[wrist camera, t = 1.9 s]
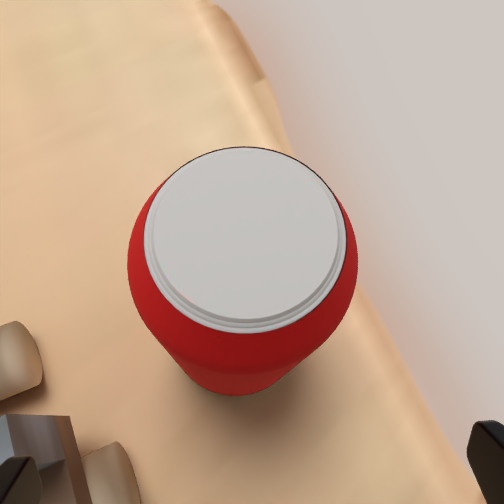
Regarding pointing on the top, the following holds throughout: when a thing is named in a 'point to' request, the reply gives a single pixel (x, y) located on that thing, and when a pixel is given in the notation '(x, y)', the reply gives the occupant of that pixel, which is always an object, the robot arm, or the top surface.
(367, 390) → the top surface
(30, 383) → the roller
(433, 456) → the top surface
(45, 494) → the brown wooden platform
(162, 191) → the beverage can
